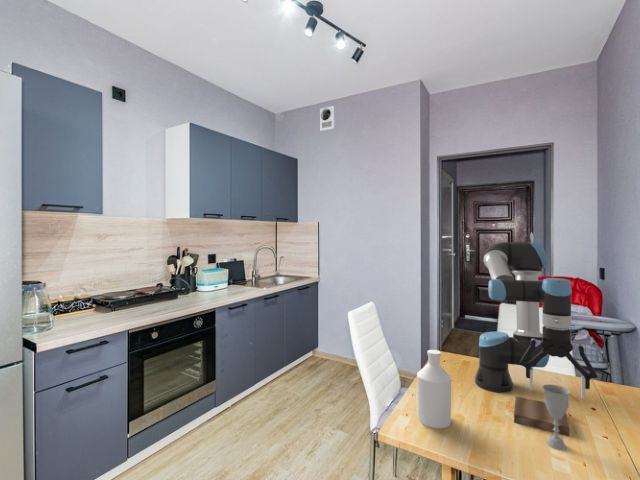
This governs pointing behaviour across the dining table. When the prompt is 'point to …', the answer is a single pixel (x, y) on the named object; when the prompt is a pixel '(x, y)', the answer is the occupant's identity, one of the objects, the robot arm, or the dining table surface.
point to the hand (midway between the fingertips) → (556, 393)
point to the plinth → (537, 416)
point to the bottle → (434, 393)
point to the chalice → (556, 411)
